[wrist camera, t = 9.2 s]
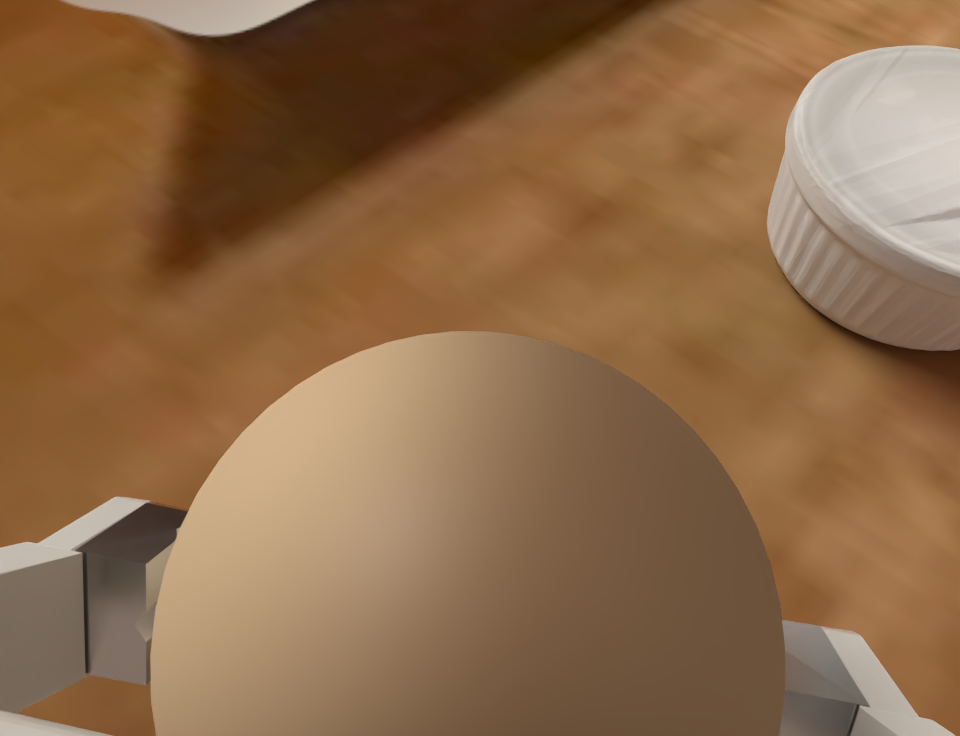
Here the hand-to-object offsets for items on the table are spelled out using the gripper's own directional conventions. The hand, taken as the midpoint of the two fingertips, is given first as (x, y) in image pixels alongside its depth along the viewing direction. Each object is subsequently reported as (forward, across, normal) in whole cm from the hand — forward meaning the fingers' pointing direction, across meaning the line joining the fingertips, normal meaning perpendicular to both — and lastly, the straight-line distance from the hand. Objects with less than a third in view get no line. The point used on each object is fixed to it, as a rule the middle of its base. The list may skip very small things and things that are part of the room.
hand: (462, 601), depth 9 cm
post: (+5, 0, +6) cm, 8 cm away
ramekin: (+19, -13, -6) cm, 24 cm away
